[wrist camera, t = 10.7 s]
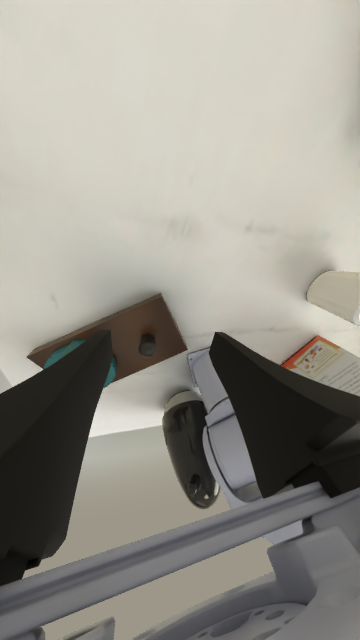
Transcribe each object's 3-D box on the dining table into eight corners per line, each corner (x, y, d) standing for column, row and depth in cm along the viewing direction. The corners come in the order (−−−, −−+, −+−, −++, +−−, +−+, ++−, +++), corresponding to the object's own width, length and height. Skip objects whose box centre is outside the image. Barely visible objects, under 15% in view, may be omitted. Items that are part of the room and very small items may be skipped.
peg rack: (161, 292, 19) (167, 318, 13) (185, 344, 24) (198, 379, 18) (33, 349, 19) (-21, 401, 13) (85, 387, 24) (64, 437, 18)
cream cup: (347, 280, 24) (413, 293, 18) (314, 312, 26) (363, 333, 20) (331, 257, 21) (404, 264, 15) (296, 295, 23) (346, 314, 17)
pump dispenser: (195, 376, 29) (235, 488, 16) (210, 399, 34) (248, 497, 21) (151, 396, 29) (154, 523, 16) (172, 416, 34) (187, 522, 21)
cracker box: (278, 382, 36) (403, 518, 18) (266, 375, 34) (400, 527, 16) (326, 344, 32) (547, 472, 14) (318, 334, 30) (574, 474, 12)
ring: (117, 383, 23) (110, 419, 19) (58, 387, 21) (32, 429, 16) (114, 340, 19) (103, 372, 14) (39, 339, 17) (-2, 377, 12)
